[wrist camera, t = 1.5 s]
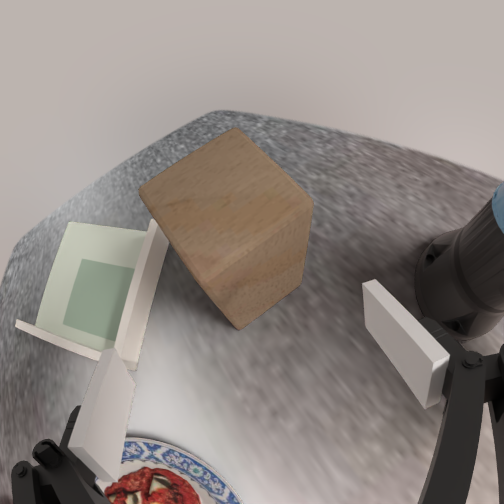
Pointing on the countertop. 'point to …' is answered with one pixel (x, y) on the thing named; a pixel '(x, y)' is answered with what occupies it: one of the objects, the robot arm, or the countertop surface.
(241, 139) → the wooden block
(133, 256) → the corner arena
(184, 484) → the ceramic plate
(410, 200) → the countertop surface
